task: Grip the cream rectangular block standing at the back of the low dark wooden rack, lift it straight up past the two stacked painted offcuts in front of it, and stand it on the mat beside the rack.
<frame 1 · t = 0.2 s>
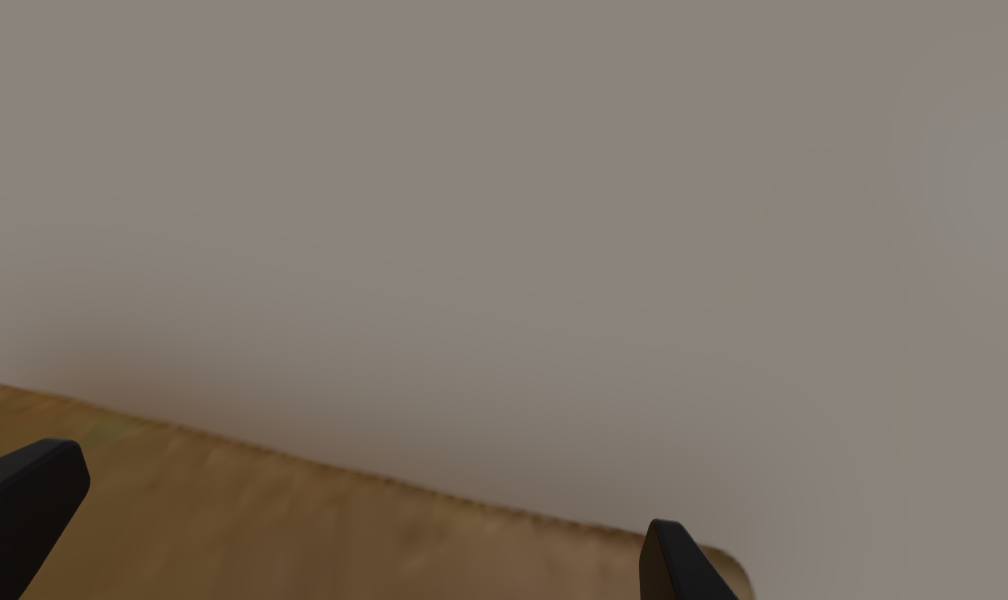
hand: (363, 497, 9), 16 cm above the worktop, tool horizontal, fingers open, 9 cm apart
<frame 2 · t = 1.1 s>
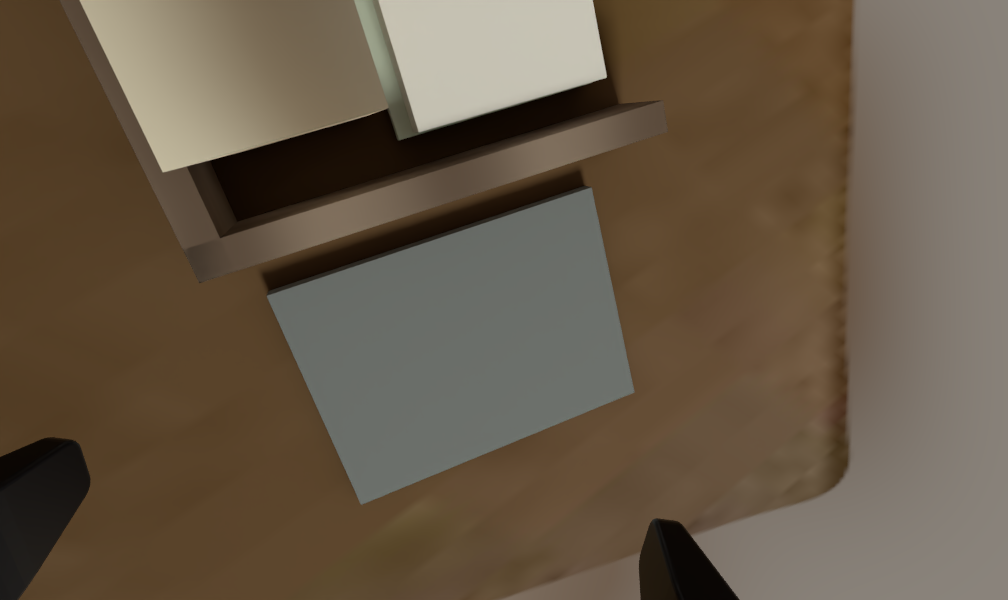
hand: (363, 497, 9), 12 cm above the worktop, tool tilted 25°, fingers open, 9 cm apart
mat: (469, 344, 22), on the worktop
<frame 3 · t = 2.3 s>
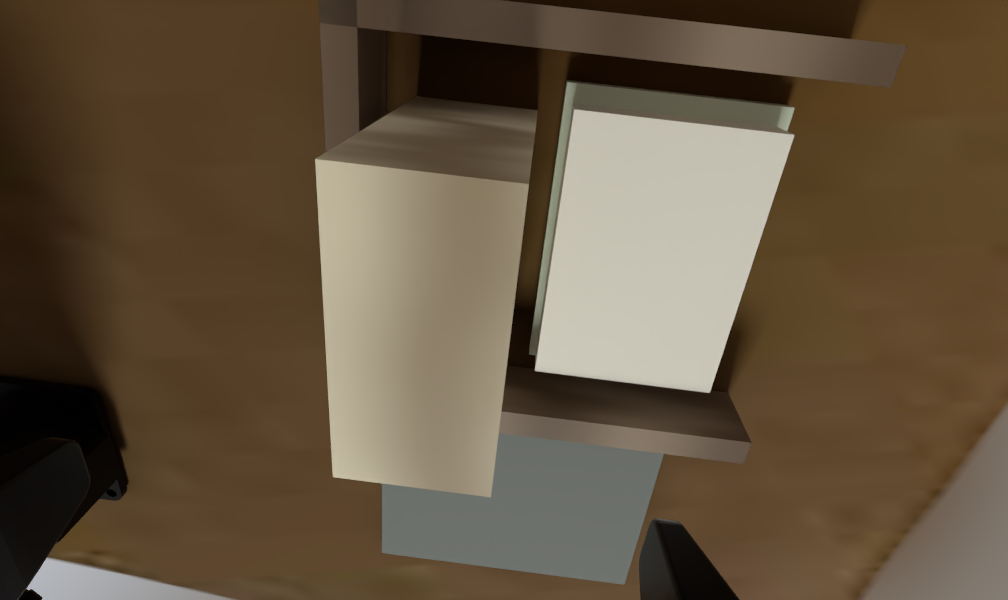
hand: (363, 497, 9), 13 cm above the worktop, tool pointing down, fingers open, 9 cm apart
offcut lower: (639, 232, 21), on the worktop, touching offcut upper
mat: (513, 492, 26), on the worktop
offcut upper: (643, 251, 20), point 1 cm above the worktop, touching offcut lower
rack: (551, 229, 20), on the worktop
cream rectangular block: (468, 218, 20), resting in rack
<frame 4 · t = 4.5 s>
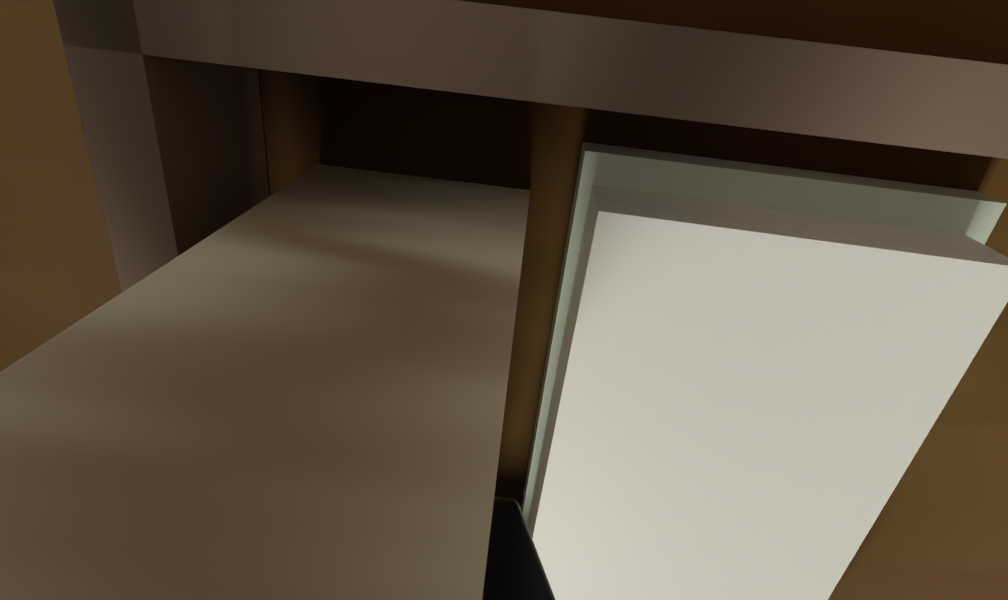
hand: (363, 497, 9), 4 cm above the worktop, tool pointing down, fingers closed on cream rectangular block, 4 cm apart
offcut lower: (695, 375, 13), on the worktop, touching offcut upper
offcut upper: (703, 419, 12), point 1 cm above the worktop, touching offcut lower
rack: (552, 375, 12), on the worktop
cream rectangular block: (417, 355, 12), resting in rack, touching gripper
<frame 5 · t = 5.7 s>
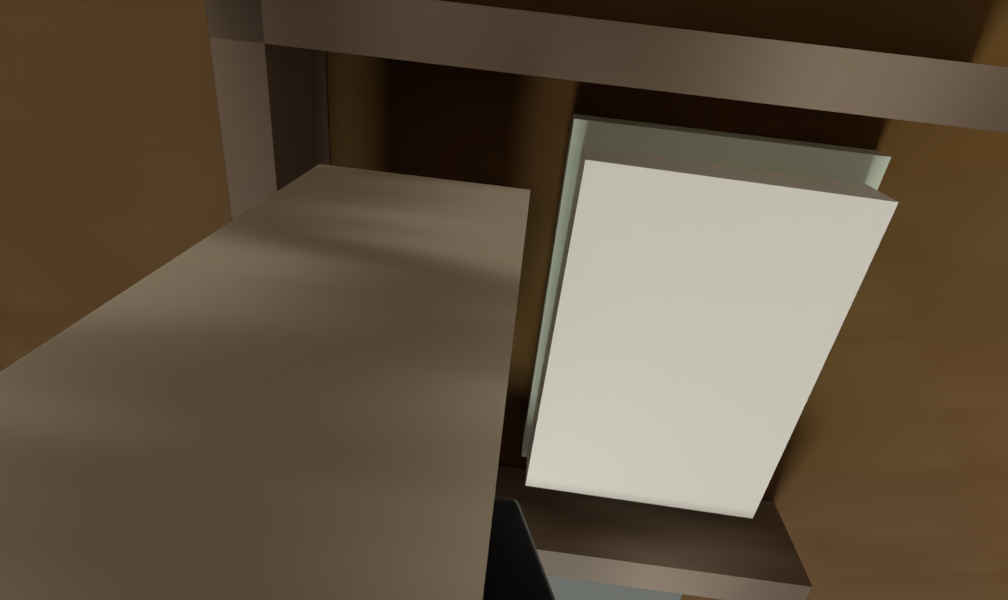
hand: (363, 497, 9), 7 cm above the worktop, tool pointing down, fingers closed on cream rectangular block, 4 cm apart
offcut lower: (666, 306, 16), on the worktop, touching offcut upper
offcut upper: (671, 336, 15), point 1 cm above the worktop, touching offcut lower
rack: (551, 304, 15), on the worktop
cream rectangular block: (417, 355, 12), point 3 cm above the worktop, touching gripper
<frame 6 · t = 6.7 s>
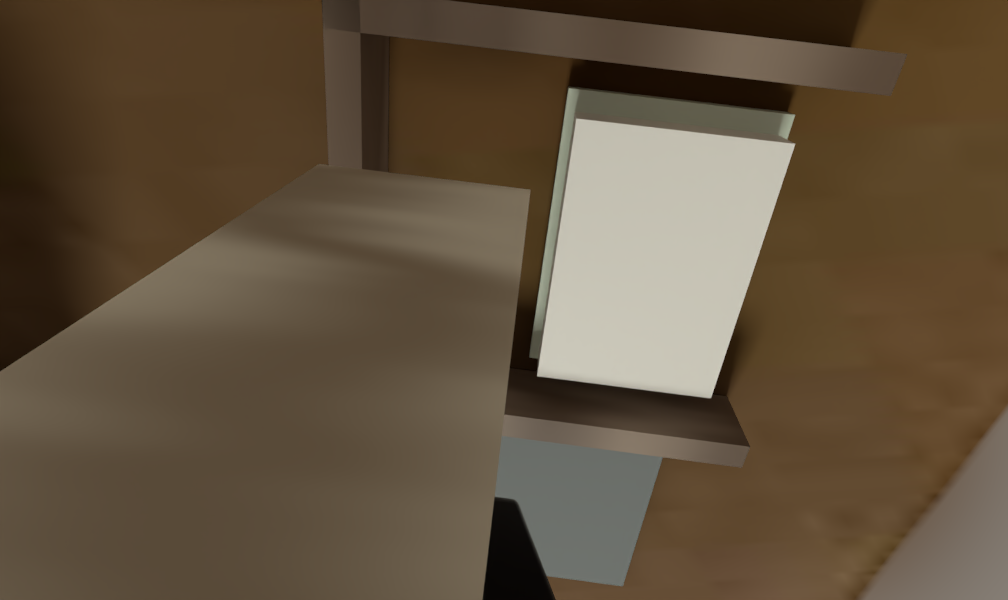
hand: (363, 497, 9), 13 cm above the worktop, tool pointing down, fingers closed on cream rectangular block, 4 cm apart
offcut lower: (640, 236, 21), on the worktop, touching offcut upper
mat: (512, 494, 26), on the worktop
offcut upper: (644, 257, 20), point 1 cm above the worktop, touching offcut lower
rack: (552, 233, 20), on the worktop
cream rectangular block: (417, 355, 12), point 9 cm above the worktop, touching gripper
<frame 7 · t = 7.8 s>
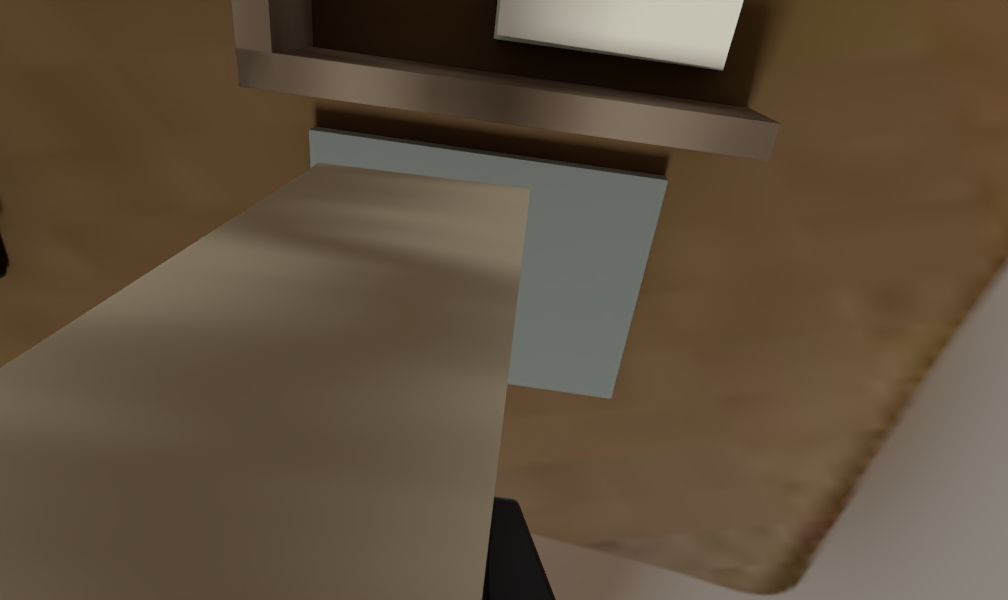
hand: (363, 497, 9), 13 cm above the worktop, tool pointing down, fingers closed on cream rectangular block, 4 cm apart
mat: (476, 270, 21), on the worktop
cream rectangular block: (417, 354, 12), point 9 cm above the worktop, touching gripper
when the fingers open (5 cm above the worktop, at t = 10.2 s): cream rectangular block stays where it is, resting on mat.
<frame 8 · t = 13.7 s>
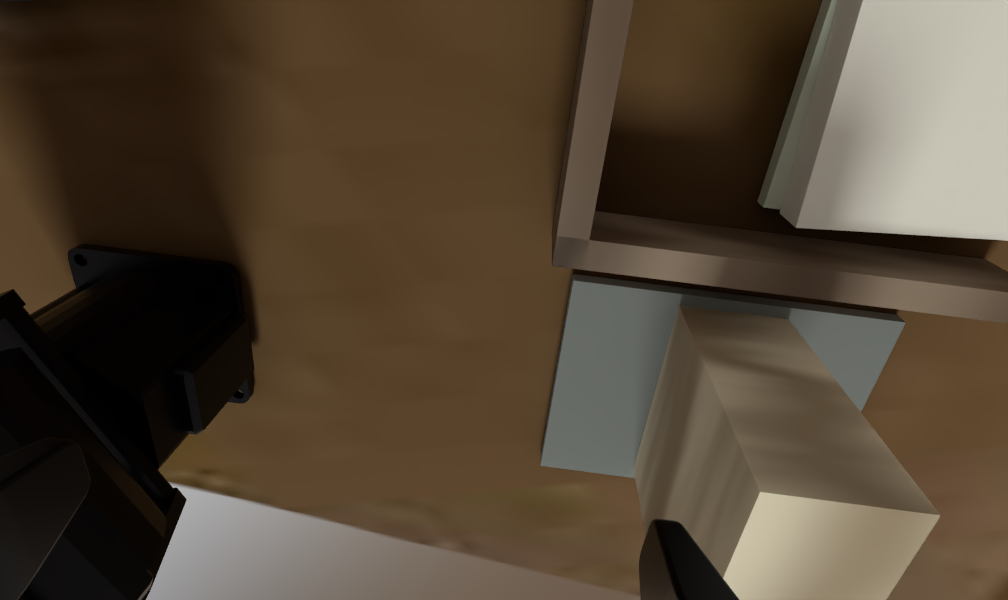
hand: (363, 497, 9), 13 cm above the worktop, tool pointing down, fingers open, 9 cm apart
offcut lower: (911, 54, 18), on the worktop, touching offcut upper
mat: (701, 391, 23), on the worktop
offcut upper: (932, 69, 16), point 1 cm above the worktop, touching offcut lower
rack: (816, 43, 17), on the worktop
cream rectangular block: (704, 400, 22), point 1 cm above the worktop, touching mat
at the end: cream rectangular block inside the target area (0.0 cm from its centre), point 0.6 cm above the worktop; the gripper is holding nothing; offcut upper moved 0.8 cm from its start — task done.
